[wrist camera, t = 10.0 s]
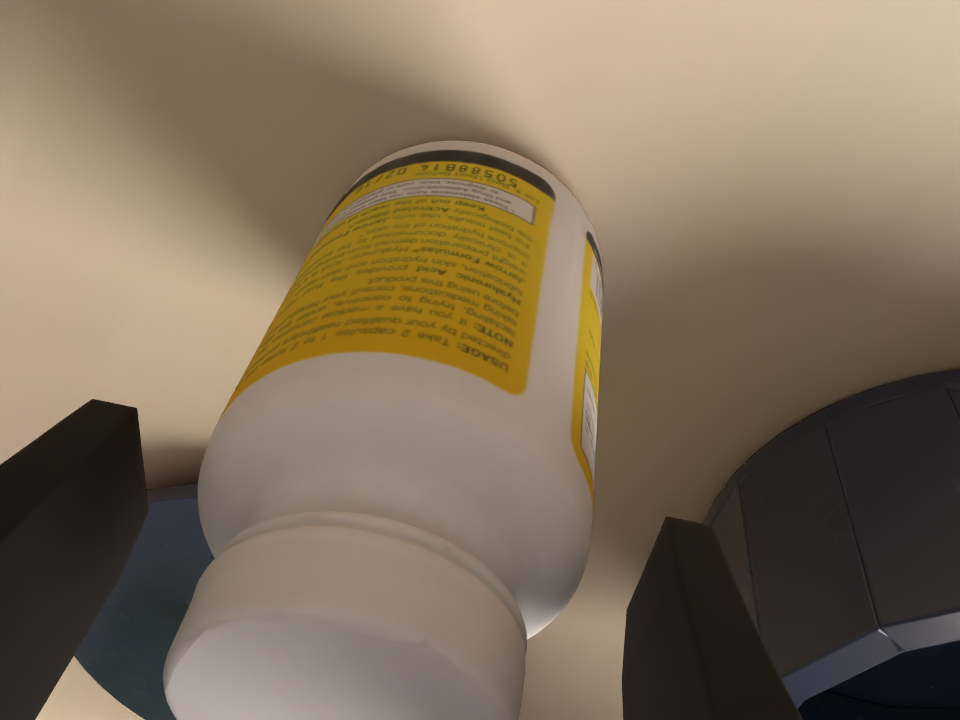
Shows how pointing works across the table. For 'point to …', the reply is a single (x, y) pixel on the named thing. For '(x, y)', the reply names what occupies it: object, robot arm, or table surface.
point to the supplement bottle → (404, 455)
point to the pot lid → (149, 604)
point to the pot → (857, 552)
